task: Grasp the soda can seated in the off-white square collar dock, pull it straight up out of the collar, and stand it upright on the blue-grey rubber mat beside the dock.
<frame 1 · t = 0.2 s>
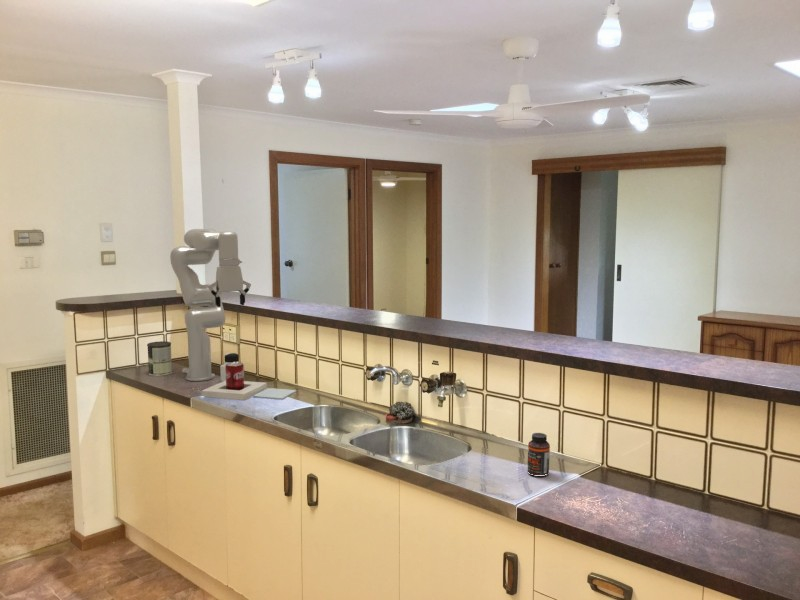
hand: (230, 305, 272), 36 cm above the counter, tool pointing down, fingers open, 9 cm apart
supplement bottle: (538, 474, 189), on the counter
mat: (275, 394, 274), on the counter
coffee can: (160, 373, 312), on the counter
collar dock: (235, 392, 277), on the counter
soda can: (235, 393, 277), resting in collar dock
medicine bottle: (232, 381, 298), on the counter
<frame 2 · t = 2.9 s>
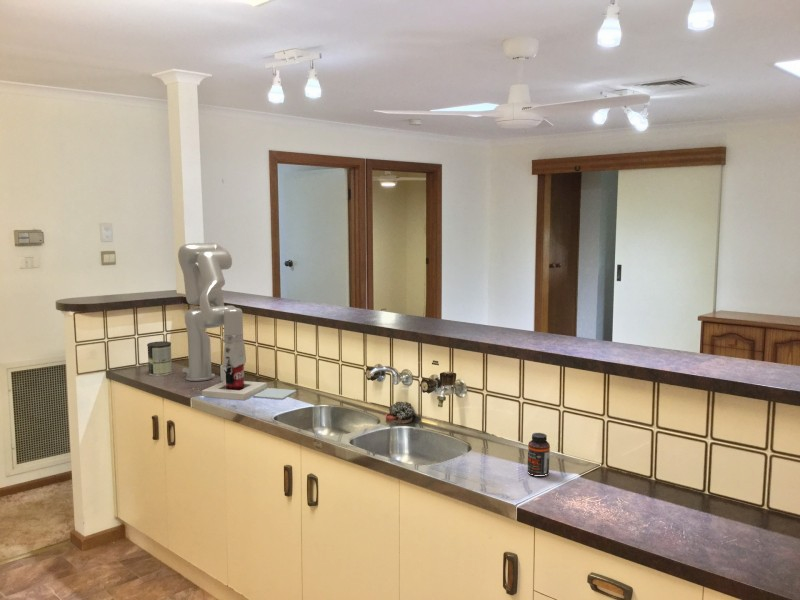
hand: (235, 380, 276), 5 cm above the counter, tool pointing down, fingers closed on soda can, 7 cm apart
soda can: (235, 393, 277), resting in collar dock, touching gripper
everything else where it was.
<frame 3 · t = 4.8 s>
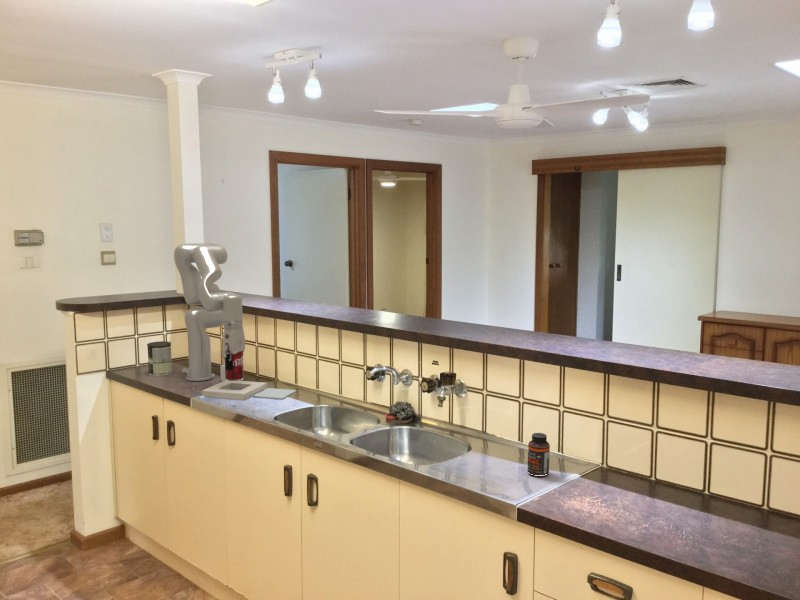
hand: (234, 367, 276), 10 cm above the counter, tool pointing down, fingers closed on soda can, 7 cm apart
soda can: (234, 379, 277), point 5 cm above the counter, touching gripper
everything else where it was.
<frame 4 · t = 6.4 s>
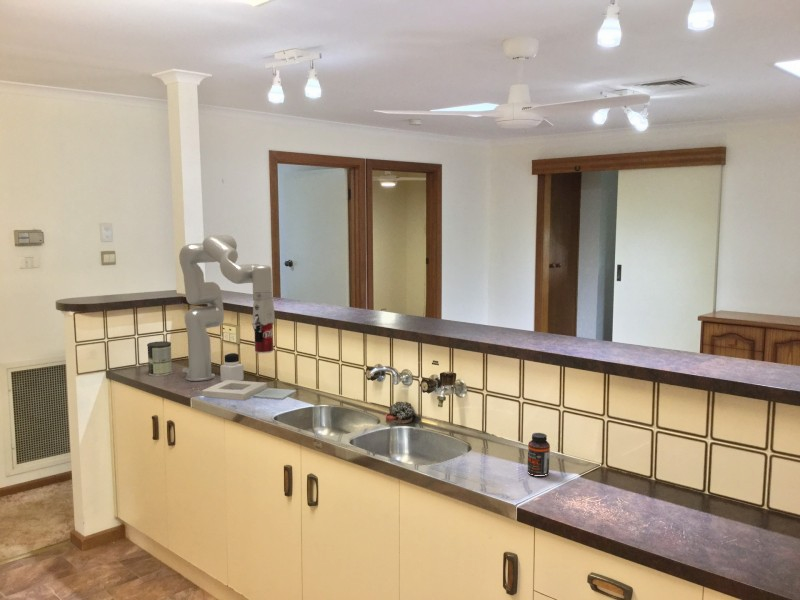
hand: (264, 339, 272), 22 cm above the counter, tool pointing down, fingers closed on soda can, 7 cm apart
soda can: (264, 352, 273), point 17 cm above the counter, touching gripper
everything else where it was.
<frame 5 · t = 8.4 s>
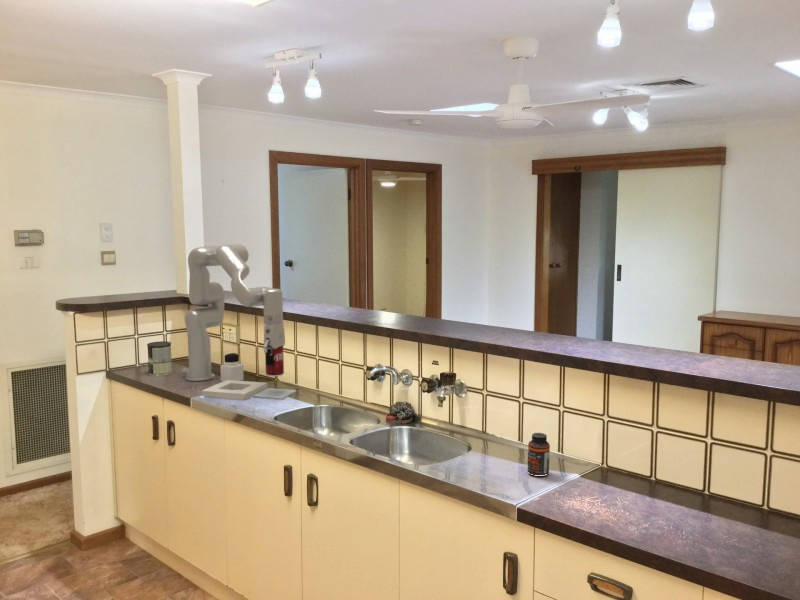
hand: (274, 362, 272), 13 cm above the counter, tool pointing down, fingers closed on soda can, 7 cm apart
soda can: (274, 375, 273), point 8 cm above the counter, touching gripper
everything else where it was.
when the fingers open (7 cm above the counter, at t = 10.1 s): soda can drops 2 cm, resting on mat.
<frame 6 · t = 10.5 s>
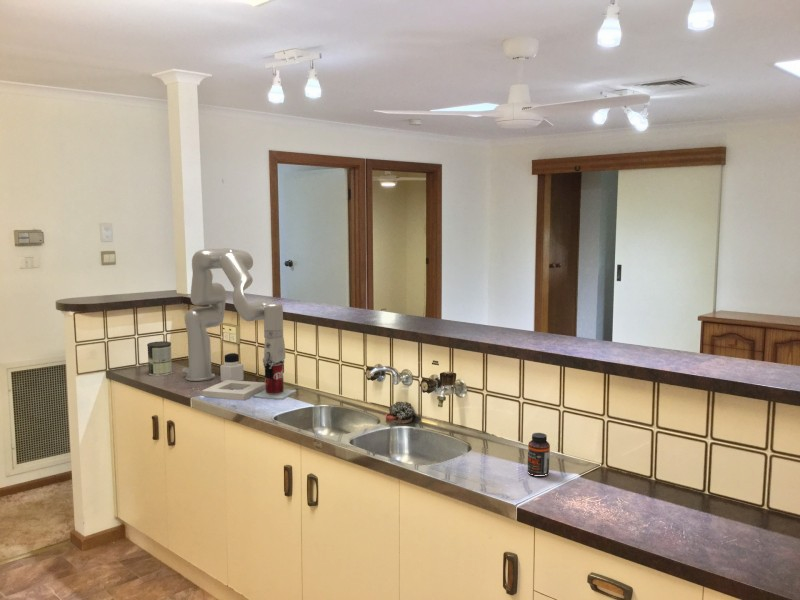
hand: (274, 375, 273), 8 cm above the counter, tool pointing down, fingers open, 9 cm apart
soda can: (274, 393, 274), resting on mat
everything else where it was.
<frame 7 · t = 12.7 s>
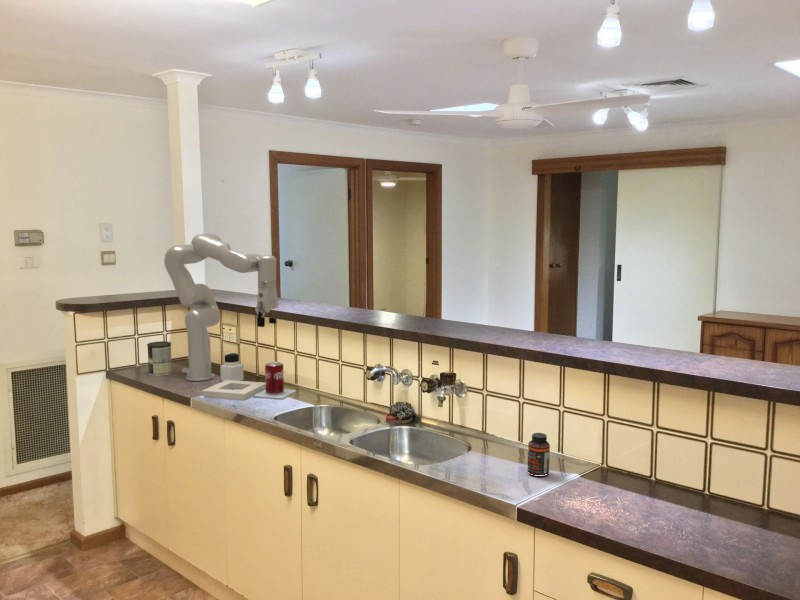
hand: (266, 324, 287), 26 cm above the counter, tool pointing down, fingers open, 9 cm apart
nothing on the counter moved.
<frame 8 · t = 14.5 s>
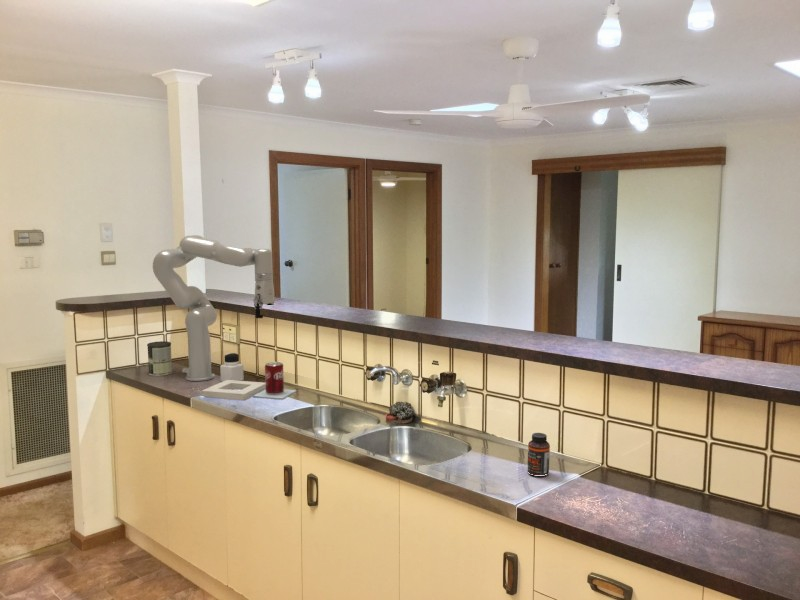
hand: (264, 316, 295), 28 cm above the counter, tool pointing down, fingers open, 9 cm apart
nothing on the counter moved.
at the end: soda can inside the target area on the mat (0.2 cm from its centre), point 0.4 cm above the mat's base; soda can tilted 0°; the gripper is holding nothing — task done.
